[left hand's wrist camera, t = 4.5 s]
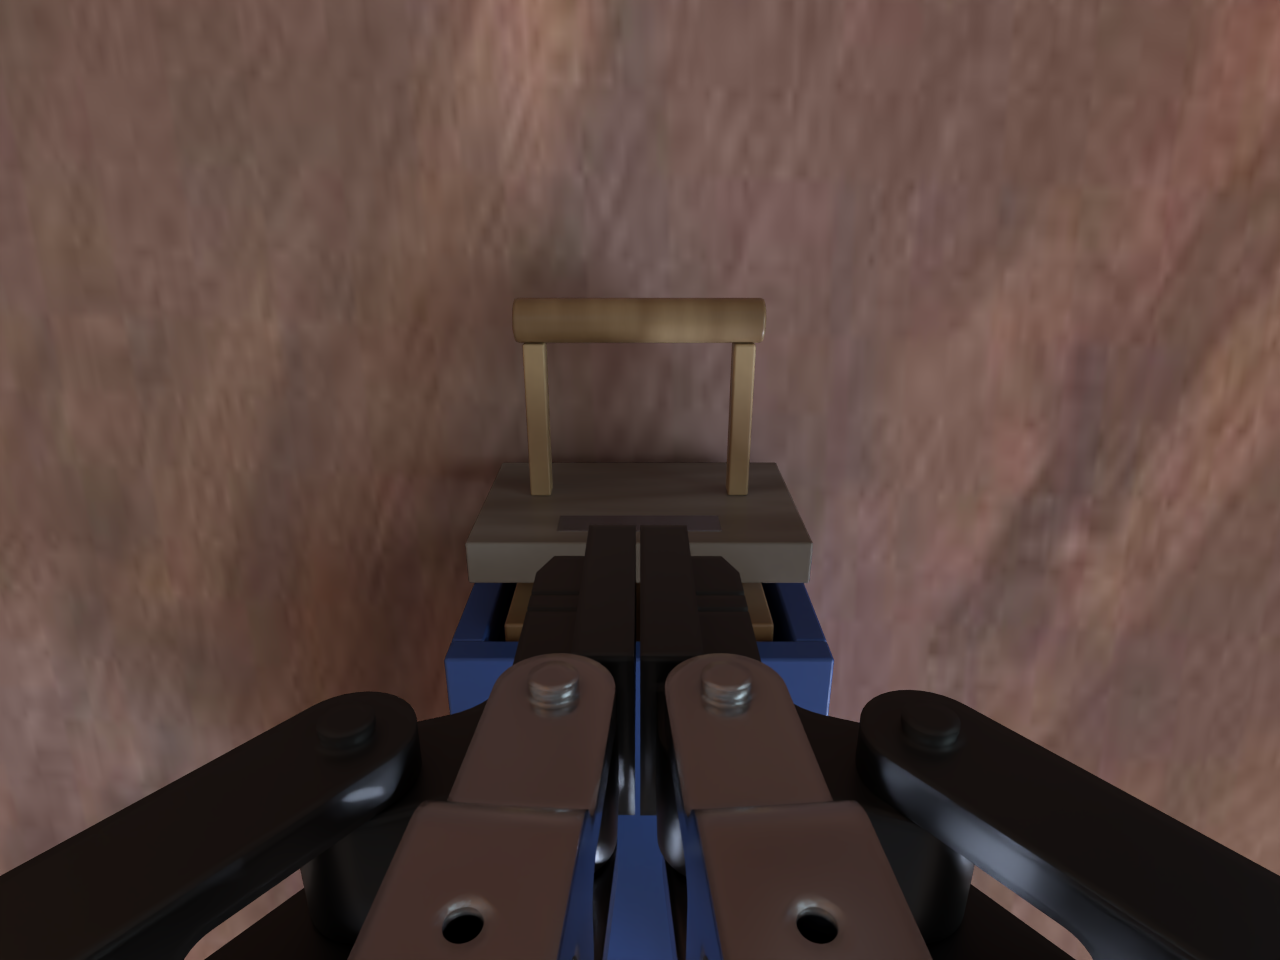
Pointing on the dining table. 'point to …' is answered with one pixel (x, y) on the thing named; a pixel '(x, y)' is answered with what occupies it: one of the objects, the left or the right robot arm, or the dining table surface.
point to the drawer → (639, 492)
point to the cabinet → (639, 893)
